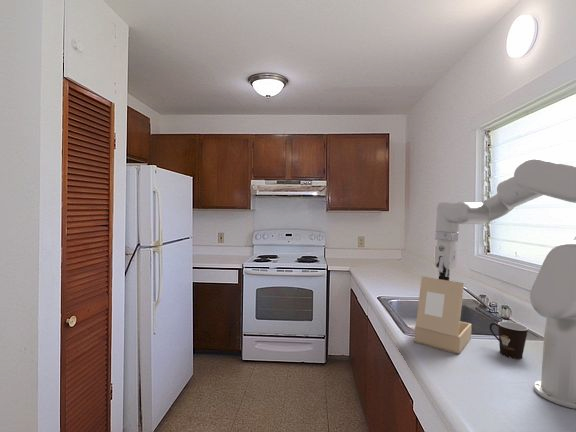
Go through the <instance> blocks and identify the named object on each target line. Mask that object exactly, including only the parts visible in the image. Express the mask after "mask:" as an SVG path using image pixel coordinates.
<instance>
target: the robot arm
mask: <svg viewBox="0 0 576 432" xmlns="http://www.w3.org/2000/svg"><path fill="white" fill-rule="evenodd" d="M542 196H547V197H550V198H553V199H558V200H562V201H565V202H568V203H574V204H576V166H575V165H569V164H564V163H559V162H556V161H552V160H548V159H542V158H530V159H527V160H524V161H523V162H521V163H519V164H518V166H517V167H516V168H515V170H514V173H513V176H511V177H509V178H507V179H506V180H503V181H500V183H498V184H497V186H496V194H495V195H493V196H491V197H489V198H487V199H485V200H482V201H480V202H476V201H474V202H473V201H469V202H468V201H466V202H465V201H460V202H459V201H458V202H449V201H441V202H438V204H437V205H436V206H437V208H436V217H435V218H436V221H435V235H434V237H435V238H434V240H435V241H436V248H435V249H436V250H435V257H434V258H435V259H434V265H435V268H436V269H438V271H437V272H438V279H441V280H447V281H450V275H451V269H454V268H456V266H457V243H458V242H459V231H460V230H459V229H460V225H483V224H487V223H489V222H492V221H494V220H497V219H499V218H502V217H503V216H506V215H507V214H509V213H511V211H513V210H514V209H515V208H516V207H518V206H521V205H523V204H525V203H528V202H530V201H532V200H535V199H538V198H539V197H542ZM529 300H530V303H531V306H532V308H533V310H534V311H535V312H536V313H537V314H538V315H540V316H541V317H543V318H545V319H546V320H545V324H544V334H543V345H542V346H543V349H542V360H541V361H542V363H541V379H540V380H536V381H535V382H534V383H533V390H534V391H535V392H536V393H537V394H538V396H540V397H541V398H543V399H545V400H547V401H550V403H551V402H552V403H554V404H556V405H560V406H561V407H566V408H571V409H574V410H576V236H575V237H574V239H573V240H572V241H566V242H561V243H560V244H557V245H556V246H554V247H552V249H550V251H549V252H547V254H546V256H545V259H544V260H543V263H542V265H541V267H540V269H539V271H538V273H537V275H536V276H535V280H534V282H533V285H532V286H531V289H530V293H529Z"/></svg>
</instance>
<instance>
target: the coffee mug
mask: <svg viewBox="0 0 576 432" xmlns="http://www.w3.org/2000/svg"><path fill="white" fill-rule="evenodd" d="M493 326H496V327H497V328H498V336H497V335H496V334H495V333H494V330H493V328H492V327H493ZM528 330H529V328H528V327H527V326H526V325H524V324H520V323H517V322H512V321H499V322H498V323H495V322H493V323H490V325H489V331H490V332H491V334H492V335H493V337H495V339H496V340H497V341H498V344H499V353H500V355H502V356H504V357H505V358H509V359H515V360H522V358H523V355H524V349H525V345H526V341H527V336H528V332H529V331H528Z"/></svg>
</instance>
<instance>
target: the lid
mask: <svg viewBox="0 0 576 432" xmlns="http://www.w3.org/2000/svg"><path fill="white" fill-rule="evenodd" d="M464 286H465V285H464V282H458V281H453V280H449V281H447V280H441V279H439V278H434V277H427V276H421V281H420V288H419V295H418V296H419V297H418V305H417V311H416V312H417V314H416V321H415V326H417V327H421V328H425V329H429V330H433V331H437V332H441V333H445V334H449V335H453V336H457V337H458V336H459V326H460V321H461V315H462V305H463V295H464V288H465V287H464Z"/></svg>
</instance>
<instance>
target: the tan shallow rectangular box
mask: <svg viewBox="0 0 576 432" xmlns="http://www.w3.org/2000/svg"><path fill="white" fill-rule="evenodd" d="M413 340H414V343H416V344H419V345H423V346H425V347H431V348H433V349H437V350H442V351H444V352H448V353H452V354H456V355H460V354H461V353H462V351H464V349H465V348H466V346H467V345H468V344H469V342H470V341H471V340H472V323H470V322H466V321H461V320H460V326H459V336H458V337H457V336H453V335H449V334H445V333H441V332H437V331H433V330H429V329H425V328H421V327H417V326H416V325H415V326H414V339H413Z"/></svg>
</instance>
